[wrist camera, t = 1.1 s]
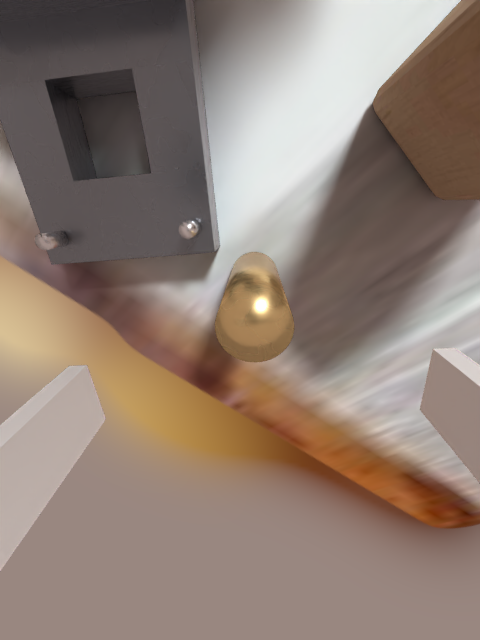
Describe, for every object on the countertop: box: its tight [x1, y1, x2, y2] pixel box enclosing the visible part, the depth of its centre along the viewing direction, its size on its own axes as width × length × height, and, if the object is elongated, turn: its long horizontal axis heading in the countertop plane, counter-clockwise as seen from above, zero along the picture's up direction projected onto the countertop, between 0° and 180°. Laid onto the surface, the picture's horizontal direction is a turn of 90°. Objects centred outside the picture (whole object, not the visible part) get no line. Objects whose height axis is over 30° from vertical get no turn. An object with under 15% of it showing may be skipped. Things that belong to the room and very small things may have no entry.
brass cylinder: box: [215, 252, 294, 362], centre depth 21 cm, size 4×4×12 cm
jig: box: [0, 0, 220, 265], centre depth 19 cm, size 18×14×7 cm
